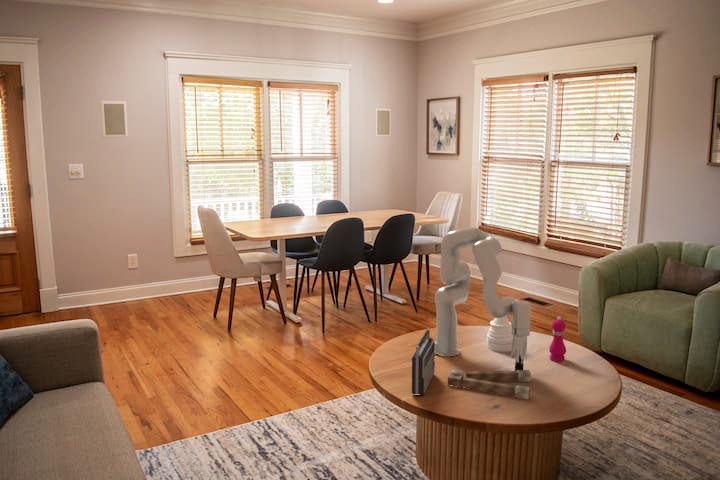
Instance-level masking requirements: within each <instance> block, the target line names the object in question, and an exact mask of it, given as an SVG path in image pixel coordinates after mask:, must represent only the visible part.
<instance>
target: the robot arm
mask: <svg viewBox="0 0 720 480" xmlns="http://www.w3.org/2000/svg"><path fill="white" fill-rule="evenodd" d="M440 243H441V245H440V246H441V247H440V248H441V254H440V255H441V257H440V266H439V279H440V282H441V283H442V284H445V286H443V287H440V288H439V289H437V290H436V291H435V294H434V303H435V308H436V309H435V310H436V312H435V313H436V331H435V332H436V336H435V337H436V339H435V353H437V354H439V355H443V356H453V357H457V356H459V355H460V353H461V349H460V348H458V313H457V310H456V306H458V305H460V304H463V303H465V302H466V300H468V297H469V295H470V285H471V269H470V267H469V265H468V263H467V262H465V261H463V260H461V252H460V250H459V249H465V248H470V247H471V252H472V254H473V257H474V260H475V262H476V264H477V266H478V269H479V271H480V274H481V277H482V279H483V280H482V287H481V289H482V291H481V292H482V298H483V302H484V304H485V306H486V309H487V311H488V313H489V315H490V316H491V317H493V318H494V319H495V318H502V317H505V316H506V317H507V316H510V315H511V334H512V335H513V339H512V350H511V351H510V353H511V354H510V358H511V359H515V363H514V371H517V370H524V361H525V360H524V359H525V356H526V354H527V352H528V351H527V350H528V337H529V336H530V335H531V314H532V311H531V310H532V306H531V305H532V304H531V303H530V302H529V301H526V300H520V299H517V298H515V297H513V296H505V297H501V298H500V296H499V294H498V289H497V285H498V282H499V280H500V278H501V276H502V274H503V271H502V267H501V265H500V263H499V261H498V258H497V256H499V255H500V254H501V252H502V245H501V243H500V241H499V240H498V239H496V238H495V237H494V236H492V235H490V234H488V233H486V232H485V231H483V230H482V229H479V228H477V227H473V226H472V227H465V228H458V229H455V230H451V231H449V232H446V233H445V234H444V236H443V237H442V240H441V242H440ZM456 355H457V356H456Z"/></svg>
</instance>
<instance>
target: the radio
mask: <svg viewBox="0 0 720 480" xmlns="http://www.w3.org/2000/svg"><path fill="white" fill-rule="evenodd" d="M430 330H431V329H430V328H427V329H426V330H425V332H424V334H423V336H422V337H421V338H420V341H419V342H418V344H417V345H416V346H415V352H414V354H413V355H412V357H411V394H412V393H413V394H420V395H422V396H423V395H425V392H426V391H427V390H428V386H429V385H430V383H431V381H432V378H433V376H434V374H435V368H436V361H435V357H436V354H435V341H436V339H434V338H432V337H430V335H431V332H430Z"/></svg>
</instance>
